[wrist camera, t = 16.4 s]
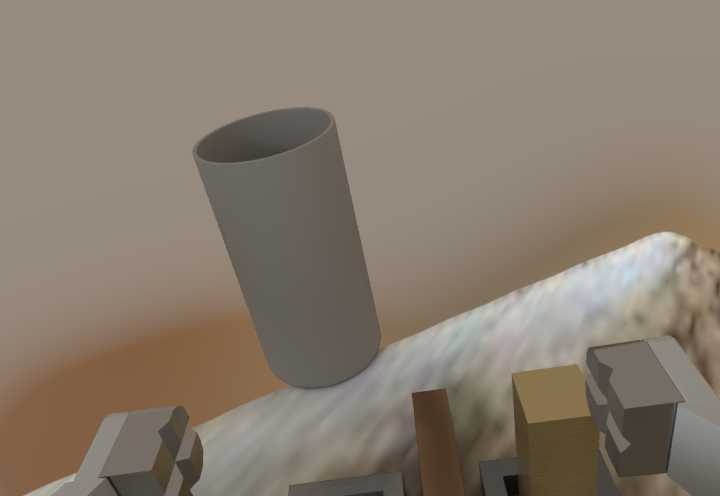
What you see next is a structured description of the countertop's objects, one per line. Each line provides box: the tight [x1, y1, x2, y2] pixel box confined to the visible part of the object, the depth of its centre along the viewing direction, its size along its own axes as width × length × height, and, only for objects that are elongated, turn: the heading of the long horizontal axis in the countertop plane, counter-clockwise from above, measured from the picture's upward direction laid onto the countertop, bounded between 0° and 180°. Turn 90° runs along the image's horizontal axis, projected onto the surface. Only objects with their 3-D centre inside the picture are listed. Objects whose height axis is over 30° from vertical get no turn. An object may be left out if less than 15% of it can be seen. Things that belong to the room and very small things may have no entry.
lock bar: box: [512, 364, 600, 496], centre depth 37 cm, size 4×4×14 cm
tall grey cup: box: [192, 107, 381, 388], centre depth 56 cm, size 12×12×25 cm
